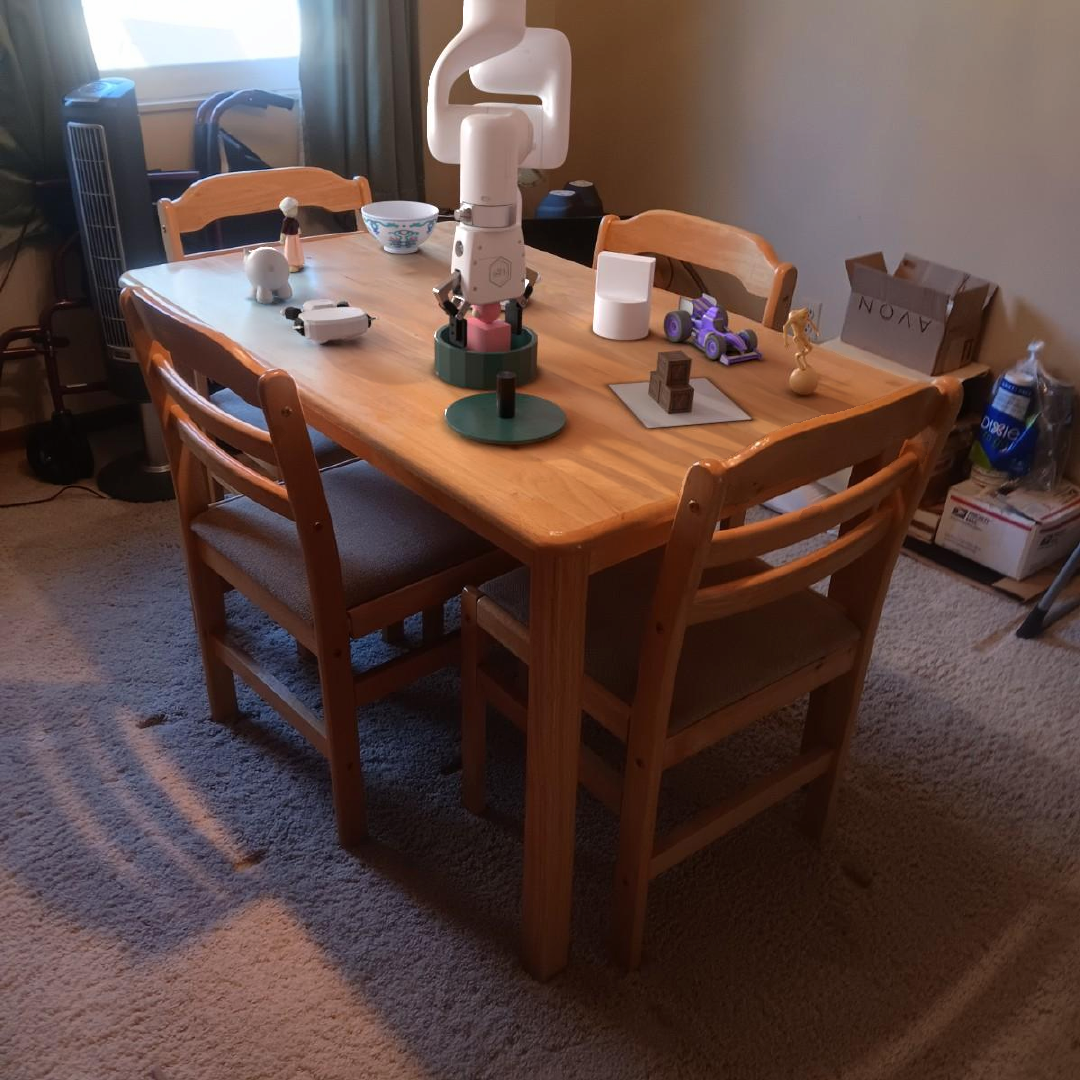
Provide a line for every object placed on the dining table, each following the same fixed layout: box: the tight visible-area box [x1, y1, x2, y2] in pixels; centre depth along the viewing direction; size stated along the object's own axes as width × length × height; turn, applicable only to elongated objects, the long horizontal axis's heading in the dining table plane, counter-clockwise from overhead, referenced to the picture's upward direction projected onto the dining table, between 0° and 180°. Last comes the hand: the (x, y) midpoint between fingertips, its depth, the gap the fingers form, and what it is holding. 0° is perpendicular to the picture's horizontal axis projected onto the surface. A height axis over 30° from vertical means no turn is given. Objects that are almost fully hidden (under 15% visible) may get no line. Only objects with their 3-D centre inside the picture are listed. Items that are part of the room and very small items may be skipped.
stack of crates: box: [608, 349, 752, 429], centre depth 137 cm, size 15×15×7 cm
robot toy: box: [279, 298, 380, 345], centre depth 155 cm, size 12×4×15 cm
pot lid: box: [444, 371, 567, 445], centre depth 129 cm, size 16×16×7 cm
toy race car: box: [663, 292, 763, 366], centre depth 157 cm, size 10×15×6 cm, turn 30°
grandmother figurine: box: [279, 196, 306, 273], centre depth 183 cm, size 8×4×13 cm, turn 179°
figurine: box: [782, 308, 821, 396], centre depth 141 cm, size 8×6×12 cm
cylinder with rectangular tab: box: [592, 250, 657, 341], centre depth 161 cm, size 9×9×12 cm
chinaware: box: [360, 200, 440, 255], centre depth 199 cm, size 15×15×8 cm
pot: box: [433, 319, 539, 391], centre depth 144 cm, size 15×15×5 cm
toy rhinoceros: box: [242, 245, 293, 304], centre depth 170 cm, size 7×12×8 cm, turn 34°
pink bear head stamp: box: [463, 302, 511, 352], centre depth 143 cm, size 5×6×12 cm
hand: (486, 338), depth 143 cm, fingers open, 9 cm apart
